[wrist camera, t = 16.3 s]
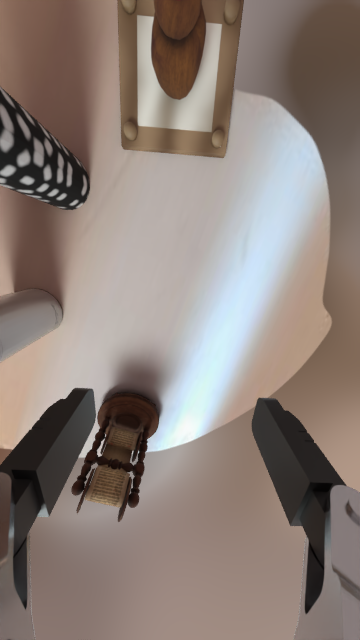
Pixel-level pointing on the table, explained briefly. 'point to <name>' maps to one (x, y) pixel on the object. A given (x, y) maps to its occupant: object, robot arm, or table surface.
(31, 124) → the spotted tube
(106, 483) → the scroll
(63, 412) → the robot arm
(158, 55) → the wooden figurine
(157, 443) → the table surface
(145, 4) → the base plate
